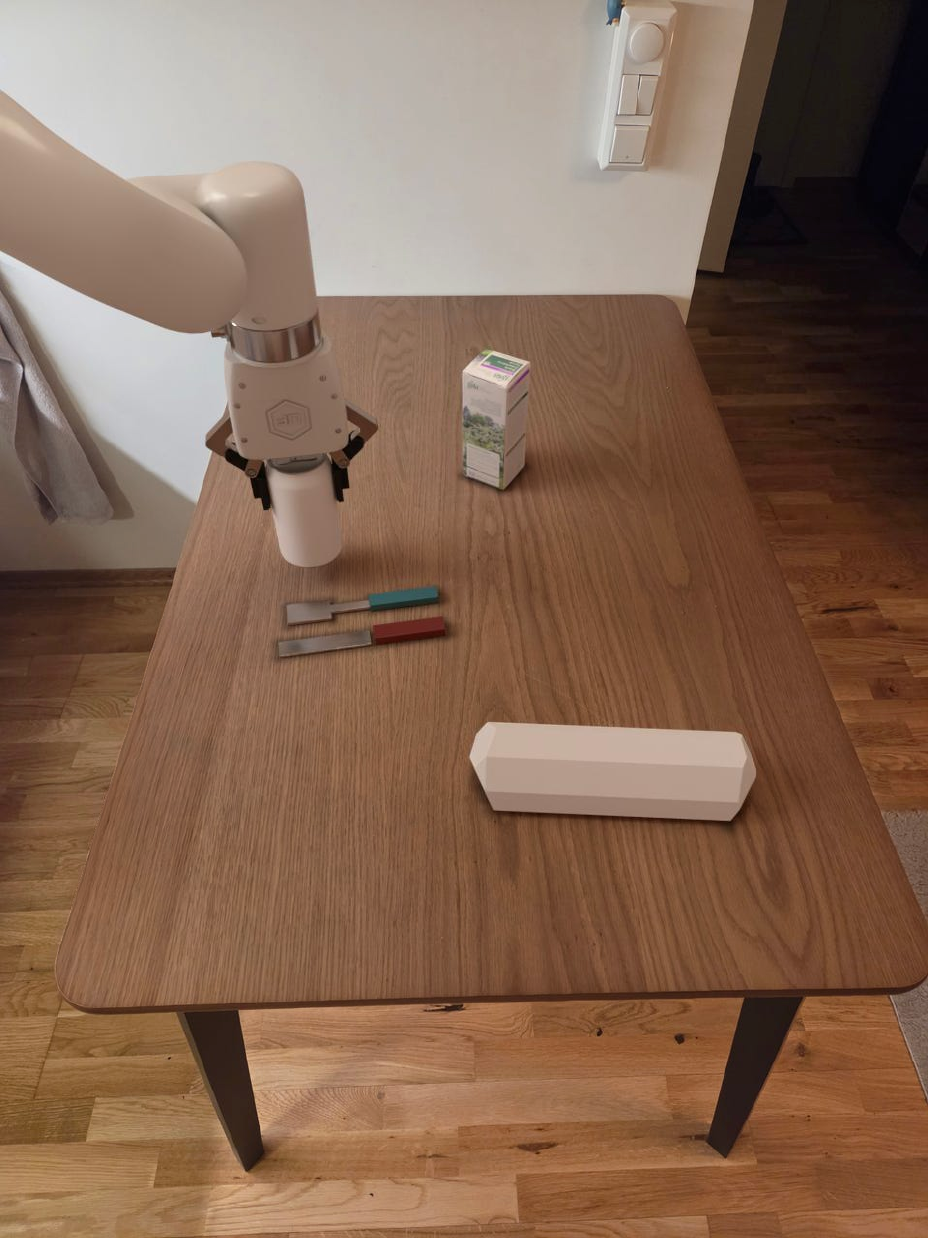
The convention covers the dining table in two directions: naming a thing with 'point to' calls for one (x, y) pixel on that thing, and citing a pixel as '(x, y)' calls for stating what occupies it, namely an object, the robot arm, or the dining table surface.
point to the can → (305, 509)
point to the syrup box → (495, 417)
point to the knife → (366, 637)
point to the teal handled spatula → (359, 605)
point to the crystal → (613, 770)
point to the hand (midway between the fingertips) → (303, 495)
